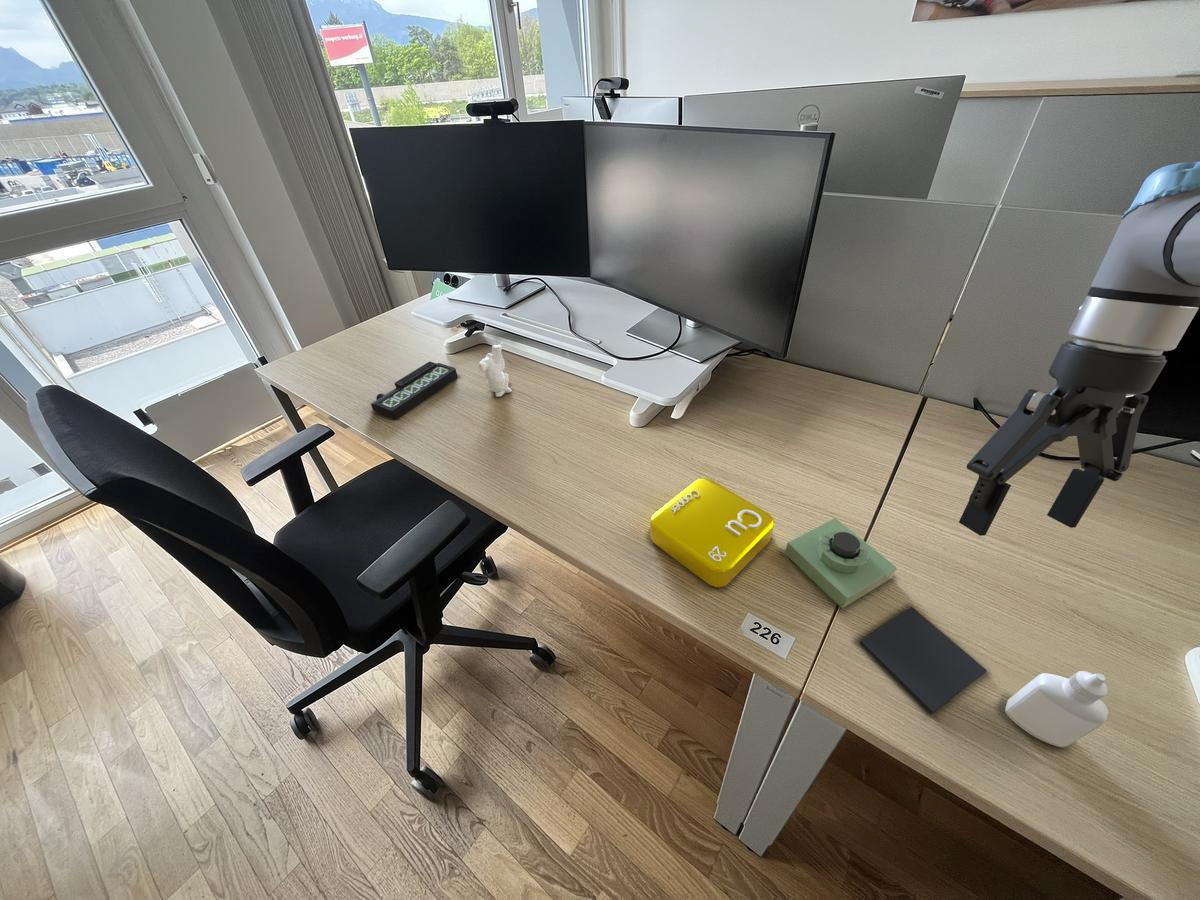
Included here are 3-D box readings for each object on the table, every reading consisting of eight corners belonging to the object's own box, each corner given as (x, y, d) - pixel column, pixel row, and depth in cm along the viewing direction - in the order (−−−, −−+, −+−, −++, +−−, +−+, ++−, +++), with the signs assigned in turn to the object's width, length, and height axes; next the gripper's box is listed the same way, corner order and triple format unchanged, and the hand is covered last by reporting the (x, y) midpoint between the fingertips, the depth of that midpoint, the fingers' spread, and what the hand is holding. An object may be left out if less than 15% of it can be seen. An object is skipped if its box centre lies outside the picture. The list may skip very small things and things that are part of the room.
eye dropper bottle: (1044, 757, 50) (1116, 714, 42) (996, 705, 54) (1053, 657, 46) (1074, 743, 51) (1151, 698, 43) (1025, 692, 55) (1086, 643, 47)
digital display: (429, 358, 123) (456, 367, 119) (432, 368, 126) (459, 377, 121) (363, 398, 110) (391, 409, 106) (368, 409, 112) (396, 421, 108)
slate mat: (984, 672, 57) (987, 670, 57) (931, 714, 54) (933, 712, 54) (910, 608, 64) (911, 606, 64) (859, 642, 61) (860, 640, 61)
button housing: (891, 578, 68) (901, 559, 65) (841, 608, 65) (851, 590, 62) (830, 528, 75) (838, 509, 73) (784, 553, 72) (790, 535, 69)
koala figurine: (504, 380, 118) (494, 337, 111) (522, 387, 115) (514, 344, 107) (479, 396, 113) (467, 352, 106) (498, 404, 110) (487, 360, 102)
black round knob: (862, 552, 67) (866, 545, 66) (844, 563, 66) (848, 555, 65) (842, 535, 69) (845, 528, 68) (824, 545, 68) (827, 537, 67)
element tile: (701, 490, 84) (703, 471, 81) (775, 536, 75) (780, 516, 72) (644, 537, 77) (644, 518, 74) (719, 593, 68) (722, 574, 65)
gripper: (1156, 340, 52) (1062, 502, 61) (979, 334, 46) (905, 513, 55) (1253, 357, 45) (1132, 536, 54) (1061, 353, 39) (961, 552, 49)
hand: (1017, 525), depth 55 cm, fingers open, 13 cm apart
